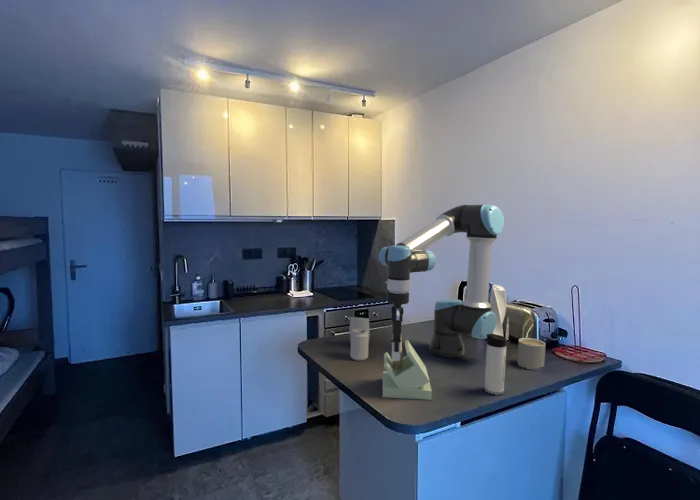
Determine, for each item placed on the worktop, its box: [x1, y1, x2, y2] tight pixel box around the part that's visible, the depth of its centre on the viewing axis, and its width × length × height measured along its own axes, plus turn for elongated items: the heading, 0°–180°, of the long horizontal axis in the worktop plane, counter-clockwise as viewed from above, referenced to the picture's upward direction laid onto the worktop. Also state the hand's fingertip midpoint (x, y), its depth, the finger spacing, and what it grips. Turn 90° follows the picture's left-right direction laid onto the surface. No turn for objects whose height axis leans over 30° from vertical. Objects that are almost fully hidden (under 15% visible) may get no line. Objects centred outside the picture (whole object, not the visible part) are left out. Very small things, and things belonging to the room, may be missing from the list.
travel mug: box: [484, 334, 507, 396], centre depth 136 cm, size 6×7×20 cm
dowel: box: [391, 332, 403, 369], centre depth 136 cm, size 3×3×12 cm
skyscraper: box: [489, 284, 510, 341], centre depth 191 cm, size 8×8×28 cm
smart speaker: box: [348, 316, 371, 345], centre depth 181 cm, size 10×9×14 cm
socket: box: [382, 339, 433, 401], centre depth 136 cm, size 16×14×16 cm
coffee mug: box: [516, 337, 546, 368], centre depth 161 cm, size 13×10×10 cm
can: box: [349, 329, 370, 362], centre depth 165 cm, size 8×8×12 cm
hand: (395, 358), depth 136 cm, fingers closed on dowel, 3 cm apart
